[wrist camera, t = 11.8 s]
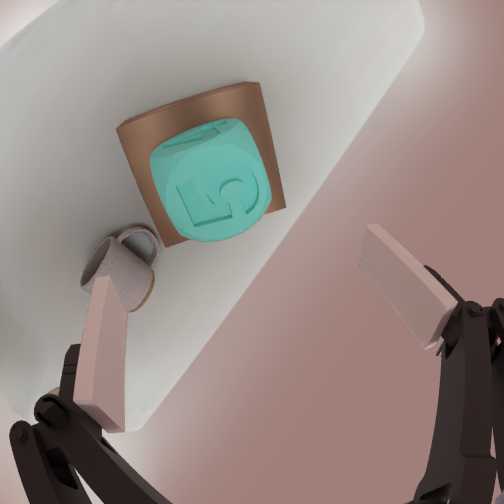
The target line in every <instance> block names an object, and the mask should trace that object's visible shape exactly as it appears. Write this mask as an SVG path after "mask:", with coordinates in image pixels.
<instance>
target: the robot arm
mask: <svg viewBox="0 0 504 504" xmlns="http://www.w3.org/2000/svg"><path fill="white" fill-rule="evenodd" d="M359 268H360V269H361V270H362V271H363V272H364V273H365V275H366V276H367V277H368V278H369V279H370V281H371V282H372V283H373V284H374V285H375V287H376V288H377V289H378V290H379V292H380V293H381V294H382V295H383V297H384V298H385V299H386V300H387V301H388V303H389V304H390V305H391V307H392V308H393V309H394V310H395V312H396V313H397V314H398V315H399V317H400V318H401V319H402V321H403V322H404V323H405V325H406V326H407V327H408V328H409V330H410V331H411V332H412V334H413V335H414V336H415V338H416V339H417V340H418V342H419V343H420V344H421V346H422V347H423V348H424V350H426V349H428V348H430V347H432V346H434V345H436V343H437V342H438V340H439V338H440V336H442V338H443V339H444V341H443V343H442V345H441V346H440V348H439V350H438V351H437V354H436V356H438V355H439V354H440V352H441V351H442V355H441V357H442V360H441V376H440V388H439V398H438V407H437V415H436V422H435V428H434V434H433V440H432V446H431V450H430V455H429V460H428V465H427V469H426V472H425V475H424V477H423V478H422V480H421V481H420V483H419V485H418V487H417V489H416V492H415V495H414V499H413V501H410V502H407V503H405V504H447V501H448V500H449V498H450V501H449V504H491V501H492V496H493V491H494V485H495V479H496V472H497V473H498V480H499V484H500V489H501V492H502V494H501V495H499V496H498V497H497V498H496V501H495V504H504V299H503V298H497V299H496V300H495V301H494V302H493V304H492V306H491V307H482V306H481V305H479V304H478V303H476V302H473V301H467V302H465V301H464V300H463V299H462V298H461V297H460V295H459V294H458V293H457V292H456V291H455V290H454V289H453V288H452V287H451V286H450V285H449V284H448V283H446V281H445V280H444V279H443V278H441V276H440V275H439V274H438V273H437V272H436V271H435V270H433V269H432V268H430V267H428V266H426V265H425V266H422V265H421V264H420V263H419V262H418V261H417V260H416V259H415V258H414V257H413V256H412V255H411V254H410V253H409V252H408V251H407V250H406V249H405V248H404V247H402V246H401V245H400V244H399V243H398V242H397V241H396V240H395V239H394V238H393V237H391V236H390V235H389V234H388V233H387V232H386V231H385V230H384V229H383V228H382V227H380V226H379V225H378V224H370V225H366V226H365V233H364V239H363V245H362V251H361V257H360V263H359ZM127 320H128V315H127V313H126V311H125V309H124V307H123V304H122V302H121V300H120V298H119V296H118V293H117V291H116V289H115V286H114V284H113V282H112V279H111V277H110V275H108V276H103V277H98V278H96V279H95V283H94V287H93V291H92V295H91V299H90V303H89V307H88V312H87V316H86V321H85V326H84V331H83V336H82V342H81V344H74V345H71V346H70V348H69V349H68V351H67V353H66V355H65V360H64V367H63V370H62V376H61V382H60V389H59V396H57V395H54V394H46V395H44V396H42V397H41V398H40V399H39V400H38V401H37V402H36V405H35V407H34V416H35V419H36V420H37V421H38V422H39V423H37V424H35V425H32V426H31V425H30V424H29V423H27V422H26V421H22V420H21V421H17V422H16V423H15V424H13V426H12V428H11V429H10V434H9V438H10V443H11V447H12V451H13V455H14V459H15V462H16V465H17V468H18V472H19V475H20V478H21V481H22V484H23V487H24V490H25V492H26V495H27V498H28V500H29V503H30V504H92V502H91V501H90V499H89V497H88V495H87V493H86V491H85V490H84V487H83V485H82V483H81V482H80V479H79V477H78V476H77V473H76V471H75V469H76V470H77V472H78V473H79V474H80V475H81V477H82V478H83V479H84V481H85V482H86V483H87V484H88V485H89V487H90V488H91V489H92V490H93V491H94V493H95V494H96V495H97V496H98V497H99V498H100V499H101V501H102V502H103V503H104V504H172V503H171V502H170V501H169V500H167V499H166V498H165V497H164V496H163V495H161V494H160V493H159V492H158V491H157V490H156V489H155V488H153V487H152V486H151V485H150V484H149V483H148V482H147V481H146V480H145V479H143V478H142V477H141V476H140V475H139V474H138V473H137V472H136V471H135V470H134V469H133V468H132V467H131V466H130V465H129V464H128V463H127V462H126V461H125V460H124V459H123V458H122V457H121V456H120V455H119V454H118V452H116V451H115V449H114V448H113V447H112V446H111V445H110V444H109V443H108V442H107V440H106V439H105V438H104V437H102V428H103V429H104V430H105V431H106V432H108V433H118V432H125V411H124V383H125V351H126V334H127ZM499 337H500V340H501V343H500V344H499V345H498V343H497V340H498V338H499ZM492 428H493V435H494V443H495V452H496V459H495V458H494V457H492V456H491V454H490V448H491V435H492ZM74 468H75V469H74Z"/></svg>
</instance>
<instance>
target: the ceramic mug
mask: <svg viewBox="0 0 504 504" xmlns="http://www.w3.org/2000/svg"><path fill="white" fill-rule="evenodd" d="M136 232H144V233H145V234H146V235H147V236H148V237H149V239H150V240H151V243H153V244H154V246H155V248H154V253H153V256H152V258H151V259H150V261H149V262H148V263H146V262H144V261H143V260H142V259H140V258H139V257H138V256H136V255H135V254H134V253H133V252H132V251H130V250H129V249H128V248H127V247H126V246H125V245H123V244H122V243H121V242H122V240H123V239H124V238H126V237H127V236H129V235H130V234H132V233H136ZM159 253H160V246H159V242H158V240H157V238H156V237H155V235H154V234H153V233H152V232H151V231H149V230H148V229H146V228H143V227H132V228H130V229H128V230H126V231H125V232H123V233H122V234H121V235H120V236H119V237H118V238H114V237H113V236H109V237H107V238H106V239H104V241H103V242H101V243H100V244H99V246H98V247H97V248H96V249H95V251H94V252H93V254H92V256H91V257H90V259H89V260H88V262H87V264H86V266H85V269H84V271H83V274H82V277H81V282H80V286H81V288H82V289H84V290H85V291H87V292H89V293H91V294H92V291H93V287H94V283H95V279H96V278H98V277H103V276H108V275H110V277H111V279H112V282H113V284H114V286H115V289H116V291H117V293H118V296H119V298H120V300H121V302H122V304H123V307H124V309H125V311H126V312H134V311H136V310H137V309H139V308H140V307H141V306H142V305H143V304H144V303H145V302H146V300H147V299H148V297H149V295H150V294H151V292H152V289H153V286H154V281H155V278H154V272H153V270H152V267H153V266H154V264H155V263H156V261H157V259H158V257H159Z"/></svg>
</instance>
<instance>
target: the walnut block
mask: <svg viewBox="0 0 504 504" xmlns="http://www.w3.org/2000/svg"><path fill="white" fill-rule="evenodd" d="M227 118H236V119H238V120H241V121H242V122H243V123H244V124H245V126H246V127H247V129H248V130H249V132H250V134H251V136H252V138H253V140H254V142H255V144H256V146H257V149H258V151H259V154H260V156H261V159H262V161H263V164H264V167H265V170H266V173H267V177H268V180H269V184H270V189H271V196H272V199H271V202H270V204H269V206H268V208H267V210H266V211H265V213H264V214H267V213H271V212H274V211H277V210H280V209H283V208H286V205H285V199H284V194H283V189H282V184H281V179H280V174H279V169H278V164H277V160H276V155H275V150H274V145H273V141H272V136H271V132H270V127H269V123H268V118H267V114H266V109H265V105H264V101H263V96H262V92H261V88H260V84H259V83H257V82H243V83H239V84H234V85H231V86H227V87H223V88H219V89H215V90H212V91H208V92H205V93H202V94H198V95H195V96H192V97H189V98H185V99H182V100H179V101H176V102H173V103H170V104H167V105H165V106H162V107H159V108H156V109H154V110H151V111H148V112H146V113H143V114H141V115H138V116H135V117H133V118H131V119H128V120H126V121H124V122H123V123H122V124H121V125H120V126H118V127H117V128H116V131H117V134H118V136H119V139H120V142H121V144H122V147H123V150H124V152H125V155H126V157H127V160H128V162H129V165H130V167H131V170H132V172H133V175H134V177H135V180H136V182H137V184H138V187H139V189H140V192H141V194H142V196H143V199H144V201H145V203H146V206H147V208H148V210H149V212H150V215H151V217H152V219H153V221H154V224H155V226H156V228H157V230H158V232H159V235H160V237H161V239H162V241H163V243H164V245H165V248H166V247H169V246H172V245H175V244H178V243H181V242H184V241H187V240H189V238H186V237H184V236H182V235H180V234H179V233H178V231H177V230H176V228H175V227H174V225H173V224H172V222H171V220H170V218H169V216H168V215H167V212H166V210H165V208H164V206H163V204H162V202H161V199H160V197H159V194H158V191H157V189H156V186H155V183H154V180H153V176H152V172H151V168H150V156H151V153H152V152H153V150H154V149H155V148H157V147H158V146H159V145H161V144H162V143H163V142H165V141H167V140H168V139H170V138H172V137H174V136H176V135H178V134H180V133H182V132H184V131H186V130H189V129H191V128H194V127H196V126H199V125H202V124H205V123H208V122H212V121H216V120H221V119H227ZM264 214H263V215H264Z"/></svg>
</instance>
